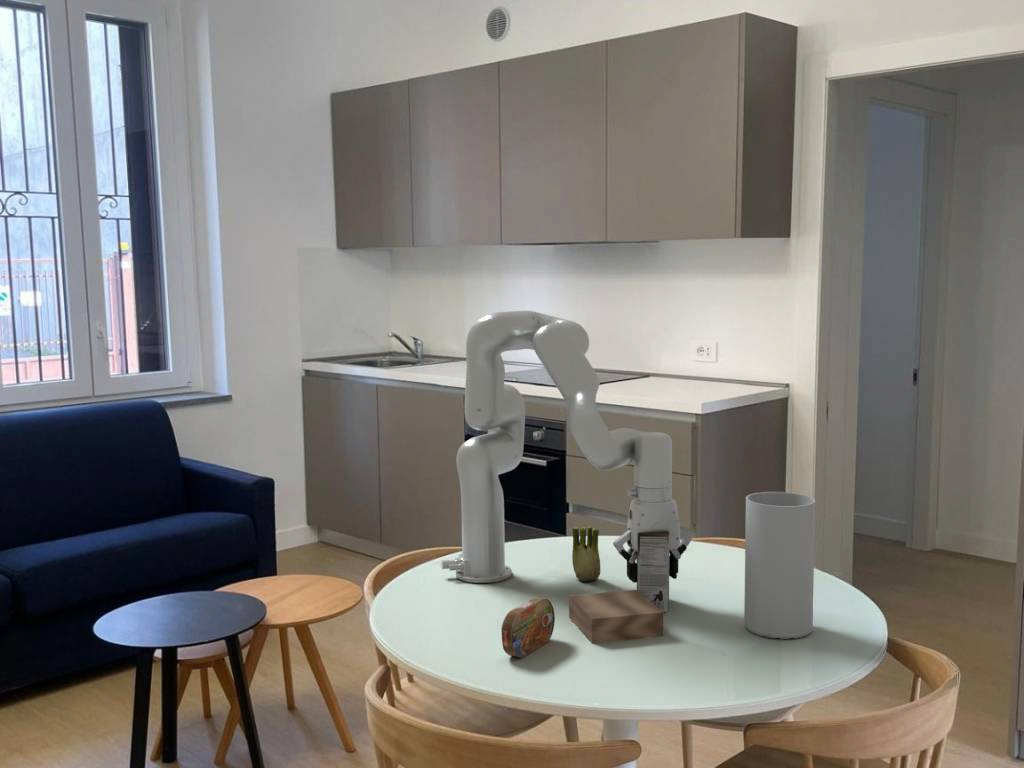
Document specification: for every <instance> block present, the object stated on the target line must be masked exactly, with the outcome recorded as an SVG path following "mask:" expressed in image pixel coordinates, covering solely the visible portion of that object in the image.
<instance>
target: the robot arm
mask: <svg viewBox="0 0 1024 768" xmlns="http://www.w3.org/2000/svg"><path fill="white" fill-rule="evenodd" d="M465 341H466V342H465V356H466V357H465V358H466V363H465V364H466V372H465V389H464V391H465V392H464V418H465V421H466V423H467V425H468V426H469V427H470V428H472V430H476V431H487V433H485V434H482V435H477V436H473V437H471V438H469V439H468V440H466V441H464V442H462V444H461V445H460V446H459V448H458V450H457V454H456V459H455V460H456V461H455V462H456V469H457V474H458V479H459V485H460V503H461V504H460V508H461V549H462V550H461V551H462V552H461V553H459V554H458V557H456V558H454V559H445V560H441V562H440V564H441V565H440V566H441V567H440V568H441V570H449V572H450V571H455V577H456V578H457V579H459V580H460V581H463V582H467V583H473V584H474V583H475V584H488V583H489V584H490V583H491V584H492V583H497V582H502V581H506V580H508V579H509V578H510V577H511V576H512V574H513V572H512V568H511V567H509V566H508V565H506V559H505V557H506V555H505V553H506V552H505V551H506V549H505V548H506V547H505V543H506V542H505V499H504V490H503V487H502V484H501V482H500V477H499V475H501V474H505V473H508V472H510V471H513V470H514V469H516V468H517V467H518V465H520V463H521V460H522V458H523V455H524V445H525V425H526V423H525V422H526V406H525V400H524V398H523V395H522V394H521V392H520V391H519V390H518V388H516V387H514V386H513V385H511V384H507V383H505V377H506V370H505V363H504V360H503V357H502V355H501V354H502V353H505V352H510V351H511V352H512V351H520V350H532V351H534V352H535V354H536V355H537V357H538V359H539V361H540V363H541V364H542V366H543V367H544V369H545V370H546V372H547V373H548V375H549V376H550V379H551V380H552V381H553V383H554V385H555V386H556V389H557V390H558V391H559V393H560V395H561V396H562V398H563V400H564V403H565V412H566V417H567V423H568V427H569V430H570V432H571V435H572V437H573V439H574V441H575V442H576V444H577V445H578V447H579V448H580V450H581V452H582V454H583V455H584V456H585V458H586V459H587V460H588V462H589V463H590V464H591V465H592V466H594V468H596V469H598V470H600V471H605V472H606V471H613V470H616V469H618V468H621V467H623V466H628V465H631V464H634V465H633V472H634V473H633V483H634V485H632V486H633V487H632V489H628V490H627V495H628V497H630V498H631V497H632V500H631V501H630V505H629V510H628V515H627V526H626V527H627V528H626V529H627V530H626V531H625V532H623V534H622V535H620V536H619V537H618V538H616V540H614V541H613V543H612V545H613V547H614V548H615V550H616V551H617V553H618V554H619V555H621V557H622V558H624V560H626V577H627V578H628V579H629V580H630V581H631V582H632V583H636V584H637V575H638V569H637V568H638V565H637V557H638V533H642V532H652V531H654V532H655V531H669V534H670V536H669V578H672V579H673V580H676V579H677V577H678V573H679V560H680V559H681V558H682V555H683V553H685V552H686V550H688V548H687V547H688V546H689V544H690V543H691V541H692V539H693V537H692V536H691V535H690V534H688V533H686V532H685V531H683V530H681V528H680V525H681V524H680V518H679V511H678V505H677V501H676V499H673V498H672V497H673V492H672V491H673V482H672V481H673V440H672V437H671V436H670V435H669V434H668V433H665V432H661V431H660V432H658V431H641V430H637V429H632V428H629V427H621V428H616V429H612V430H609V429H608V427H607V425H606V424H605V423H604V421H603V419H602V417H601V415H600V413H599V411H598V408H597V407H598V406H597V400H596V399H597V394H598V391H599V388H600V384H601V380H600V376H599V375H598V373H597V372H596V371H595V369H594V367H593V366H592V364H591V363H590V362H589V360H588V358H587V356H586V355H585V354H586V353H587V352H588V349H589V348H590V347H589V346H590V338H589V335H588V332H587V331H586V328H584V327H583V326H582V325H581V324H579V323H578V322H576V321H573V320H569V319H565V318H560V317H558V316H553V315H549V314H546V313H541V312H537V311H533V310H516V311H514V310H513V311H512V310H511V311H500V312H495V313H490V314H488V315H485V316H483V317H480V318H479V319H477V320H476V321H475V322H474V323H473V325H472V326H471V327H470V329H469V330H468V333H467V337H466V340H465ZM625 544H627V546H628V547H629V548H628V550H626V549H625V547H624V545H625Z"/></svg>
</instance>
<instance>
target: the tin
mask: <svg viewBox="0 0 1024 768" xmlns="http://www.w3.org/2000/svg"><path fill="white" fill-rule="evenodd" d="M555 616H556V615H555V608H554V606H553V603H552V602H551V601H550V600H549V599H547V598H536V597H535V598H531V599H529V600H527V601H526V602H524V603H522V604H520V605H519V606H517V607H515V608H513V609H512V610H510V611H509V612H507V614H506V615H505V617H504V619H503V621H502V624H501V645H502V648H503V651H504V652H505V653H506V655H508V656H509V657H510V656H511V657H517V658H520V659H524V658H526V657H528V656H529V655H531V654H533V653H534V652H535V651H538V649H540V648H541V647H543V646H544V645H546V644H547V643H549V641H550V640H551V637H552V635H553V632H554V628H555V622H556V621H555V620H556V619H555Z"/></svg>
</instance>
